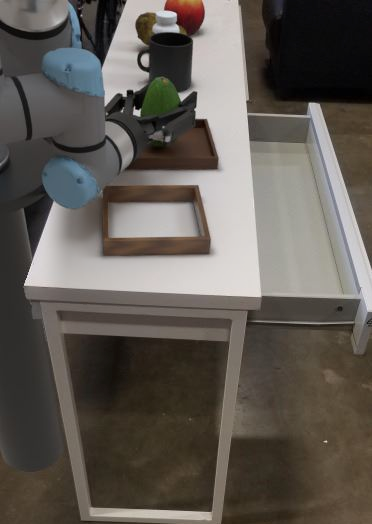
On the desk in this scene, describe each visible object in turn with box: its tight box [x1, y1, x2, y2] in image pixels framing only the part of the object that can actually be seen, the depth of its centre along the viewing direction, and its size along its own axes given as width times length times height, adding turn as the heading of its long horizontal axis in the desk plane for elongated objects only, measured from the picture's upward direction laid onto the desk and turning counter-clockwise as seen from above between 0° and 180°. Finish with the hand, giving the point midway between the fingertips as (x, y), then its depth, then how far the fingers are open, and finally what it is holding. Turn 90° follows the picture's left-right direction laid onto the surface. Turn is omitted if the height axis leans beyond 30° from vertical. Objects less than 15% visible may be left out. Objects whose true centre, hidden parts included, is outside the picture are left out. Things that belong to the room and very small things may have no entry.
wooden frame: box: [102, 184, 212, 256], centre depth 89 cm, size 16×16×2 cm
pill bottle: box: [152, 10, 180, 35], centre depth 132 cm, size 6×6×11 cm
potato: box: [134, 11, 187, 46], centre depth 141 cm, size 8×13×8 cm, turn 94°
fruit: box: [163, 0, 206, 36], centre depth 150 cm, size 11×11×10 cm
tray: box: [124, 118, 220, 170], centre depth 107 cm, size 19×16×2 cm
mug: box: [136, 32, 194, 92], centre depth 126 cm, size 9×12×9 cm
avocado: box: [139, 77, 182, 148], centre depth 103 cm, size 8×8×12 cm
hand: (173, 94), depth 105 cm, fingers closed on avocado, 8 cm apart
